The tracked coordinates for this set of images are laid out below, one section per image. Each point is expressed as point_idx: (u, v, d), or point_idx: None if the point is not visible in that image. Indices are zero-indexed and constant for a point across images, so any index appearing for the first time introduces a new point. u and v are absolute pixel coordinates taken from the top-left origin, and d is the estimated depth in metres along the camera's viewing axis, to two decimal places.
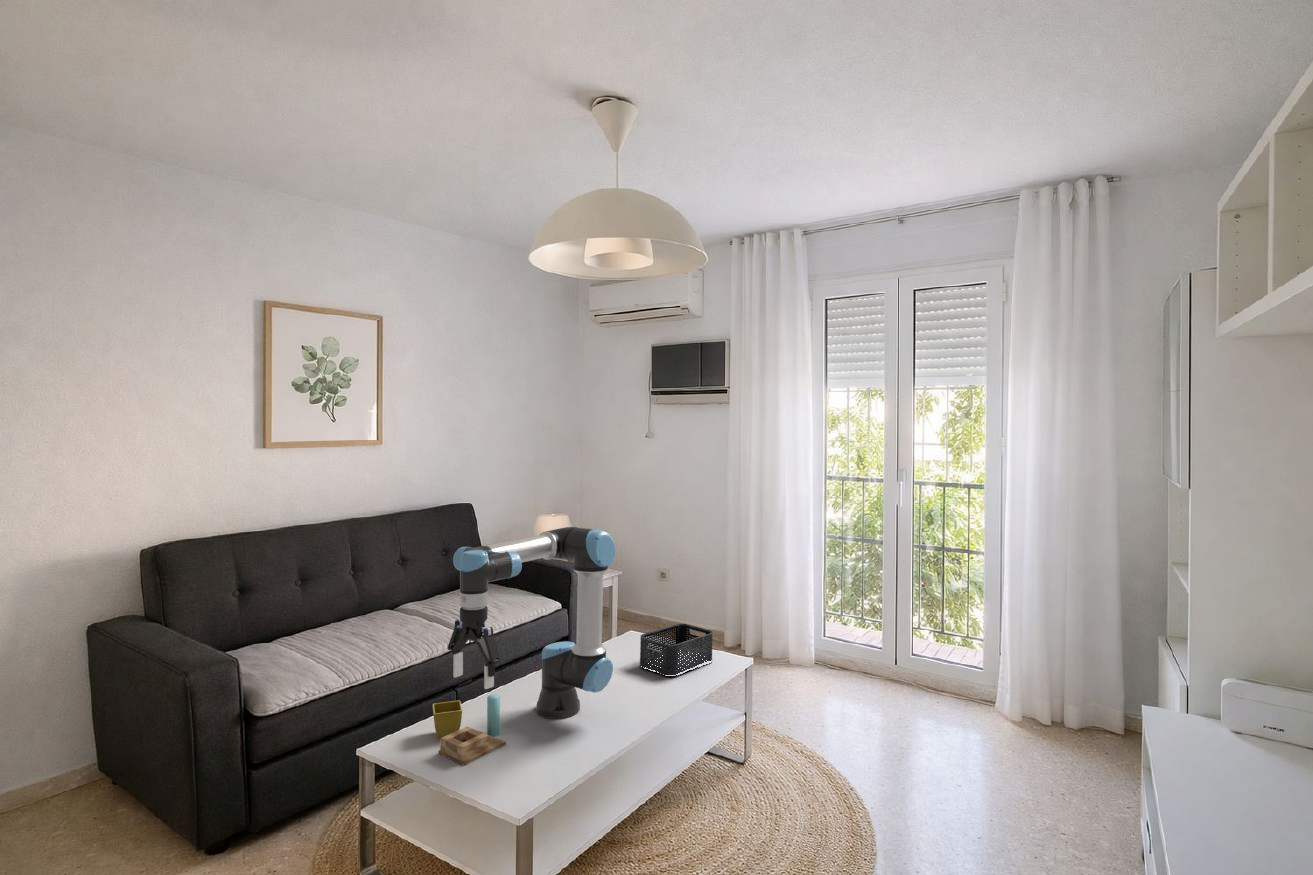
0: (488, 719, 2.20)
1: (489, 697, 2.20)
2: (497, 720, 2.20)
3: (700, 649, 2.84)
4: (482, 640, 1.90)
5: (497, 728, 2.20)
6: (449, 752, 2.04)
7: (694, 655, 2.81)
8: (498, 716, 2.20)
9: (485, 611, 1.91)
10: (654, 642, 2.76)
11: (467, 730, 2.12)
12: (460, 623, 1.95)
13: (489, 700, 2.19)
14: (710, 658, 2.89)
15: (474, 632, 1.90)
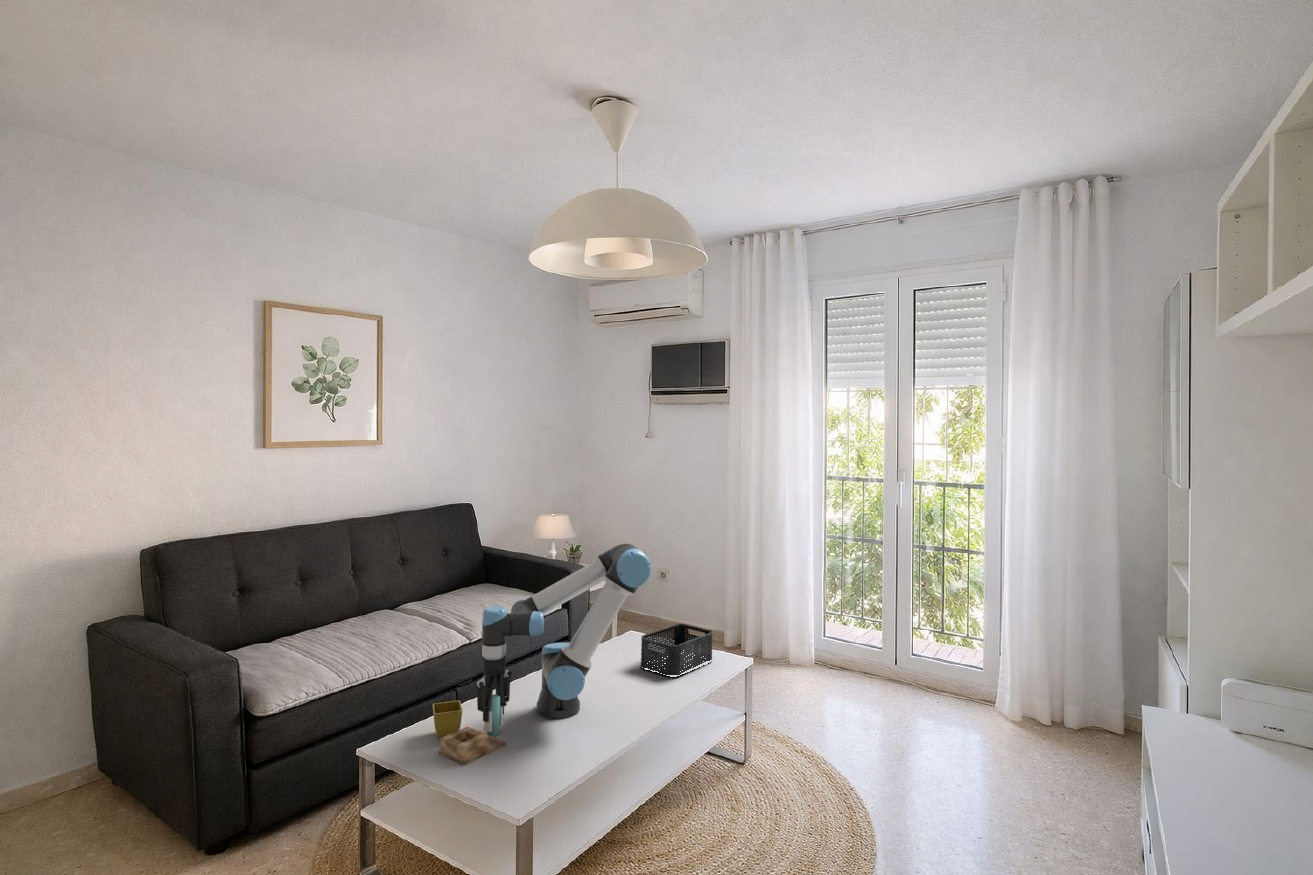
0: None
1: None
2: (497, 720, 2.20)
3: (701, 649, 2.84)
4: (487, 688, 2.19)
5: (497, 728, 2.20)
6: (449, 752, 2.04)
7: (695, 655, 2.81)
8: (498, 716, 2.20)
9: (488, 663, 2.17)
10: (656, 643, 2.76)
11: (467, 730, 2.12)
12: None
13: None
14: (710, 658, 2.89)
15: None
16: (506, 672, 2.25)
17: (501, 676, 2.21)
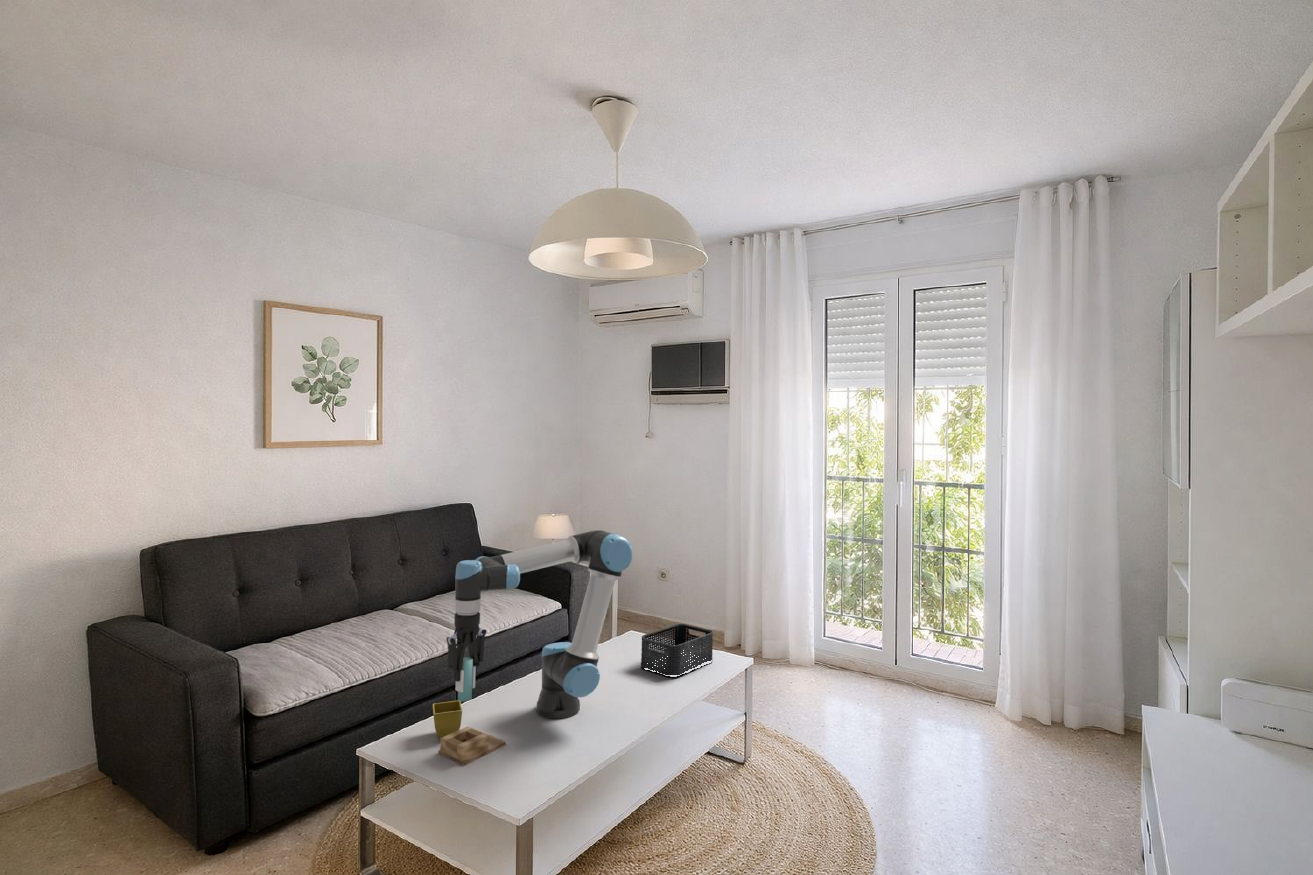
0: None
1: None
2: (469, 684, 2.07)
3: (701, 649, 2.84)
4: (459, 646, 2.06)
5: (469, 693, 2.07)
6: (449, 752, 2.04)
7: (696, 655, 2.81)
8: (470, 680, 2.08)
9: (460, 618, 2.05)
10: (656, 643, 2.76)
11: (467, 730, 2.12)
12: None
13: None
14: (710, 658, 2.89)
15: None
16: (480, 630, 2.12)
17: (474, 634, 2.08)
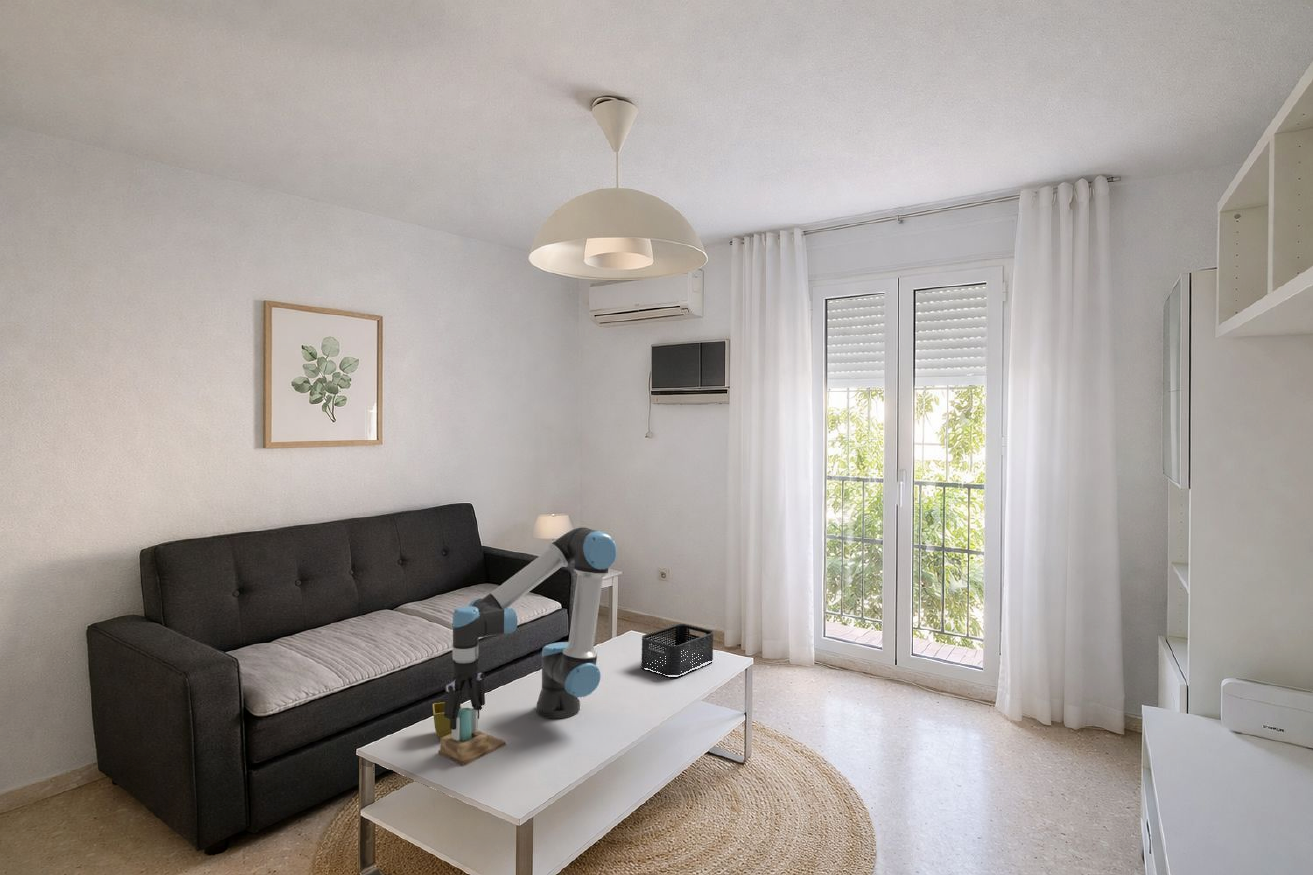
0: None
1: (459, 711, 2.07)
2: (468, 735, 2.07)
3: (701, 649, 2.84)
4: (457, 693, 2.05)
5: None
6: (449, 752, 2.04)
7: (696, 655, 2.81)
8: (469, 731, 2.07)
9: (458, 666, 2.04)
10: (656, 643, 2.75)
11: None
12: None
13: (459, 714, 2.06)
14: (711, 658, 2.89)
15: None
16: (479, 675, 2.11)
17: (473, 680, 2.08)
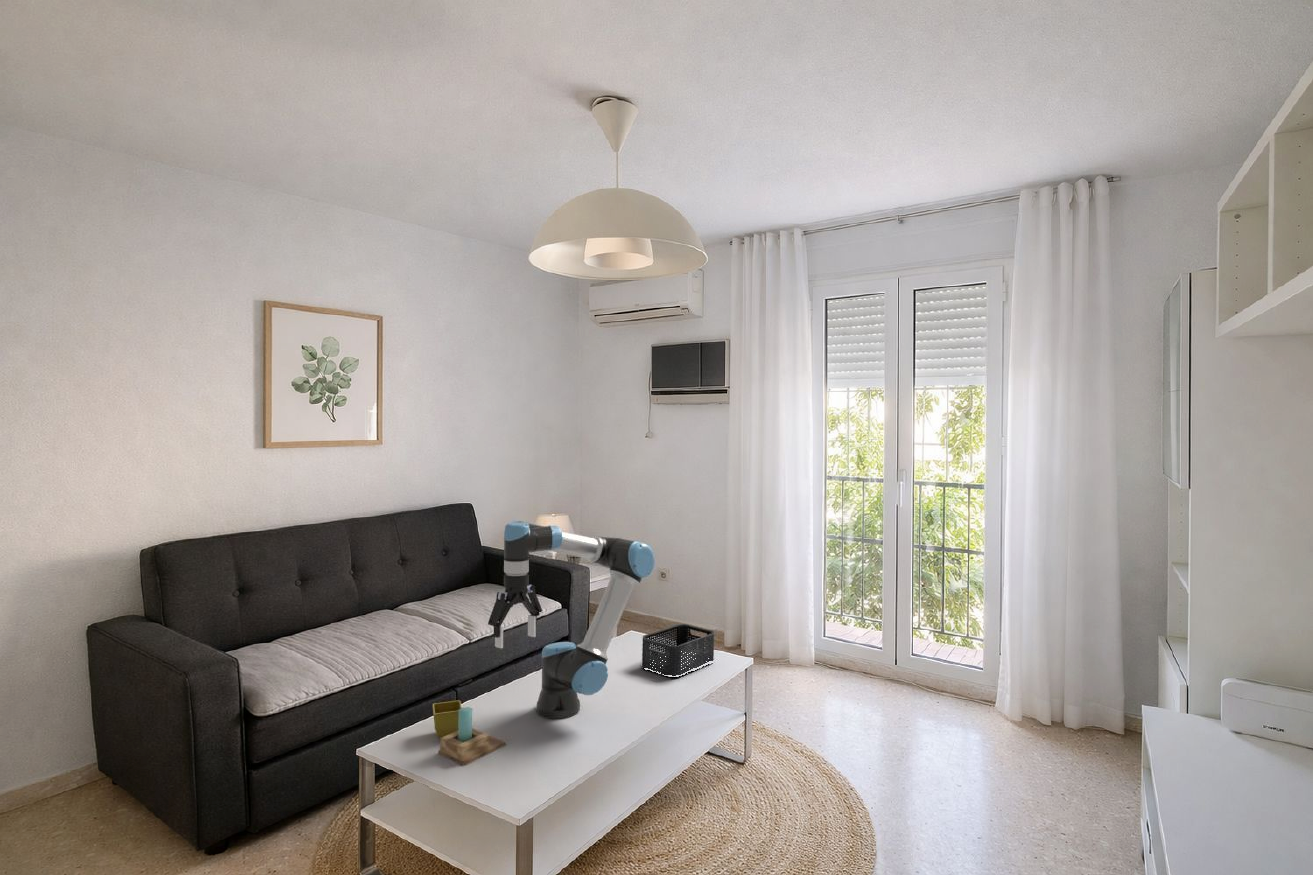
0: (459, 734, 2.07)
1: (460, 710, 2.08)
2: (469, 735, 2.07)
3: (702, 649, 2.83)
4: (506, 604, 2.09)
5: None
6: (449, 752, 2.04)
7: (696, 656, 2.80)
8: (470, 730, 2.07)
9: (510, 579, 2.08)
10: (657, 643, 2.75)
11: None
12: None
13: (460, 713, 2.06)
14: (712, 658, 2.88)
15: None
16: (529, 588, 2.16)
17: (524, 594, 2.12)
